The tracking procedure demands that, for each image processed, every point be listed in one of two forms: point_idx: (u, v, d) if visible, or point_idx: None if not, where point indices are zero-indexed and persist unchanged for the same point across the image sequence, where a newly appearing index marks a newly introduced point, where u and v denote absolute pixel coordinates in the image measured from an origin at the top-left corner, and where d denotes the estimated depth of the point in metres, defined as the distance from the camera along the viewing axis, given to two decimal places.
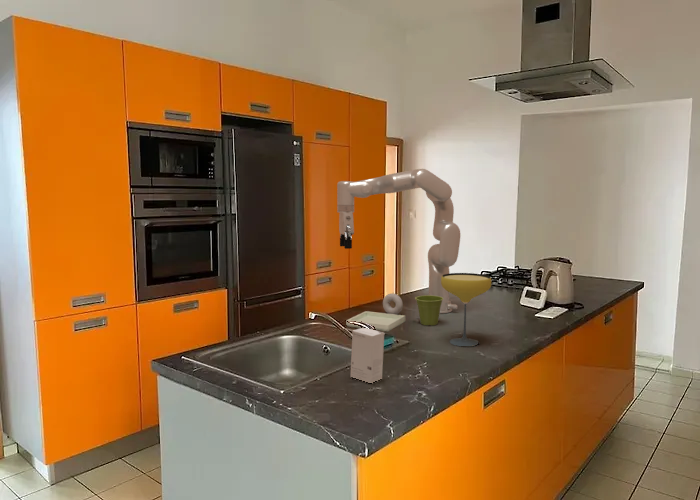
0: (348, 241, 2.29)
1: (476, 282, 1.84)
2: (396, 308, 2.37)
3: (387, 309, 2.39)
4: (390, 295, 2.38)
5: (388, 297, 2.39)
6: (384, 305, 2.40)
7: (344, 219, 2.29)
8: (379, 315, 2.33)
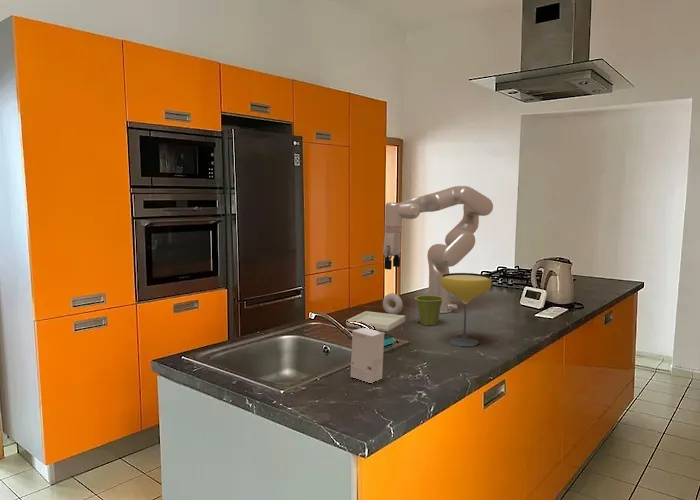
0: None
1: (476, 282, 1.84)
2: (396, 308, 2.37)
3: (387, 309, 2.39)
4: (390, 295, 2.38)
5: (388, 297, 2.39)
6: (384, 305, 2.40)
7: None
8: (379, 315, 2.33)
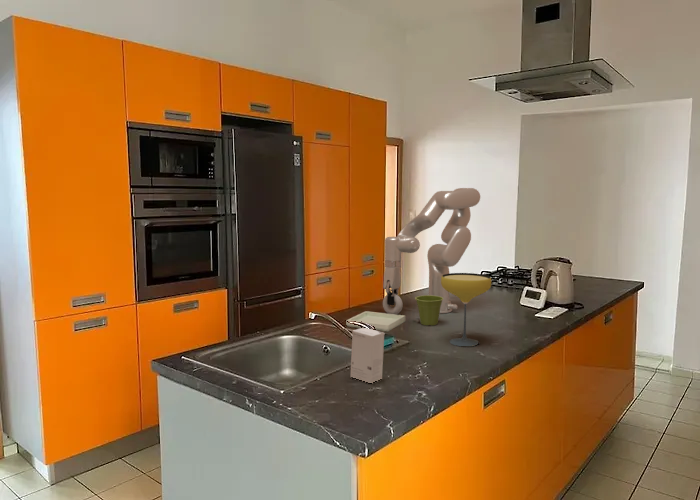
0: None
1: (476, 282, 1.84)
2: (396, 308, 2.37)
3: (387, 309, 2.39)
4: None
5: None
6: (384, 305, 2.40)
7: None
8: (379, 315, 2.33)
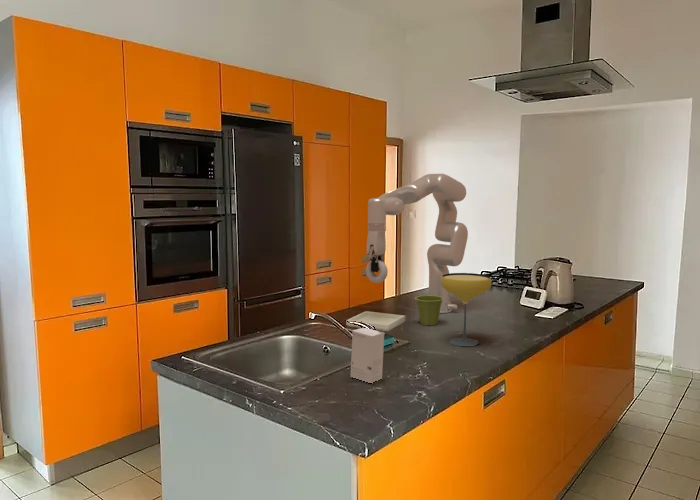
0: None
1: (476, 282, 1.84)
2: (380, 275, 2.19)
3: (371, 277, 2.21)
4: None
5: None
6: (367, 272, 2.22)
7: None
8: (379, 315, 2.33)
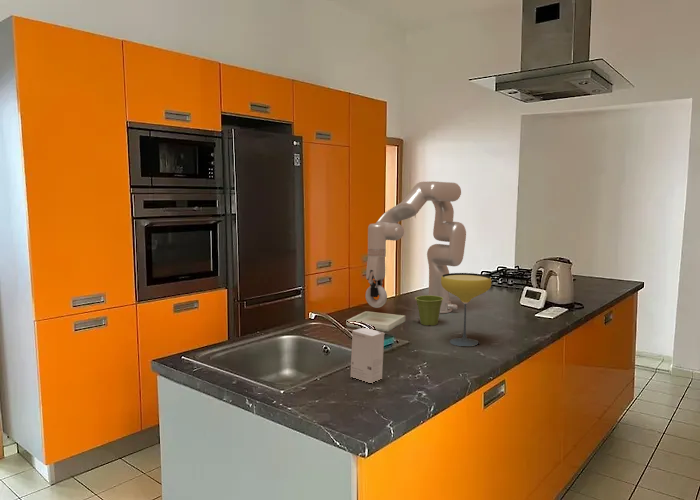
0: None
1: (476, 282, 1.84)
2: (380, 300, 2.20)
3: (370, 301, 2.23)
4: None
5: None
6: (367, 297, 2.23)
7: None
8: (379, 315, 2.33)
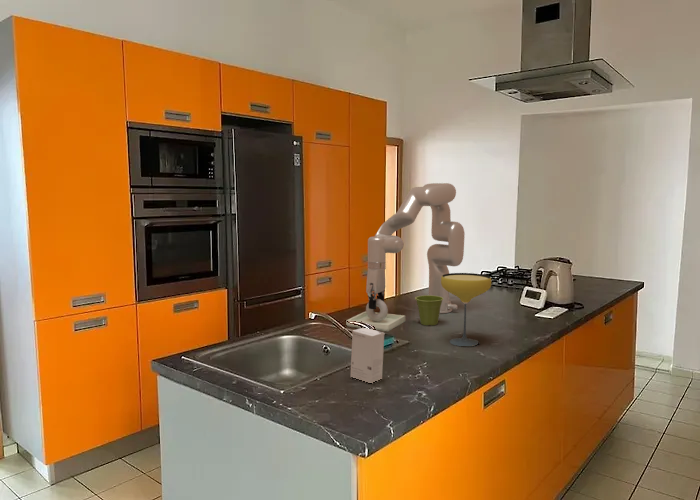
0: None
1: (476, 282, 1.84)
2: (381, 314, 2.21)
3: (371, 315, 2.23)
4: None
5: None
6: (368, 311, 2.24)
7: None
8: None
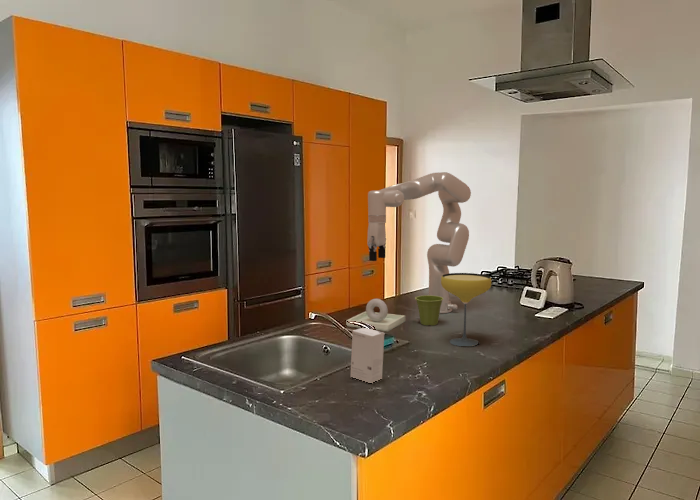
0: None
1: (476, 282, 1.84)
2: (381, 314, 2.21)
3: (371, 315, 2.23)
4: (374, 300, 2.22)
5: (372, 303, 2.23)
6: (368, 311, 2.24)
7: None
8: None
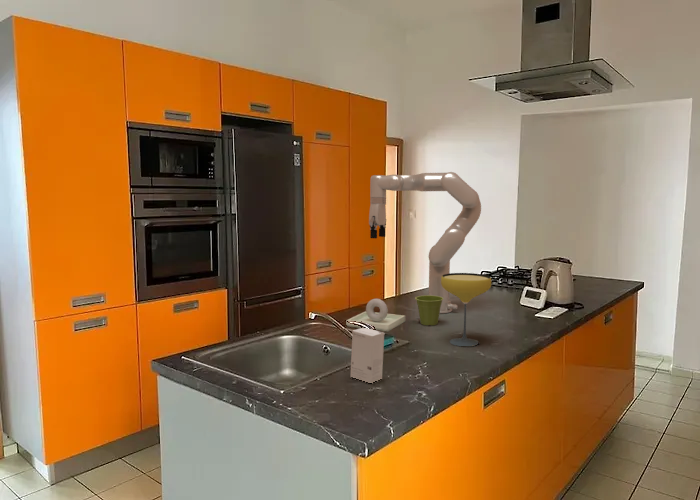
0: None
1: (476, 282, 1.84)
2: (381, 314, 2.21)
3: (371, 315, 2.23)
4: (374, 300, 2.22)
5: (372, 303, 2.23)
6: (368, 311, 2.24)
7: None
8: None
